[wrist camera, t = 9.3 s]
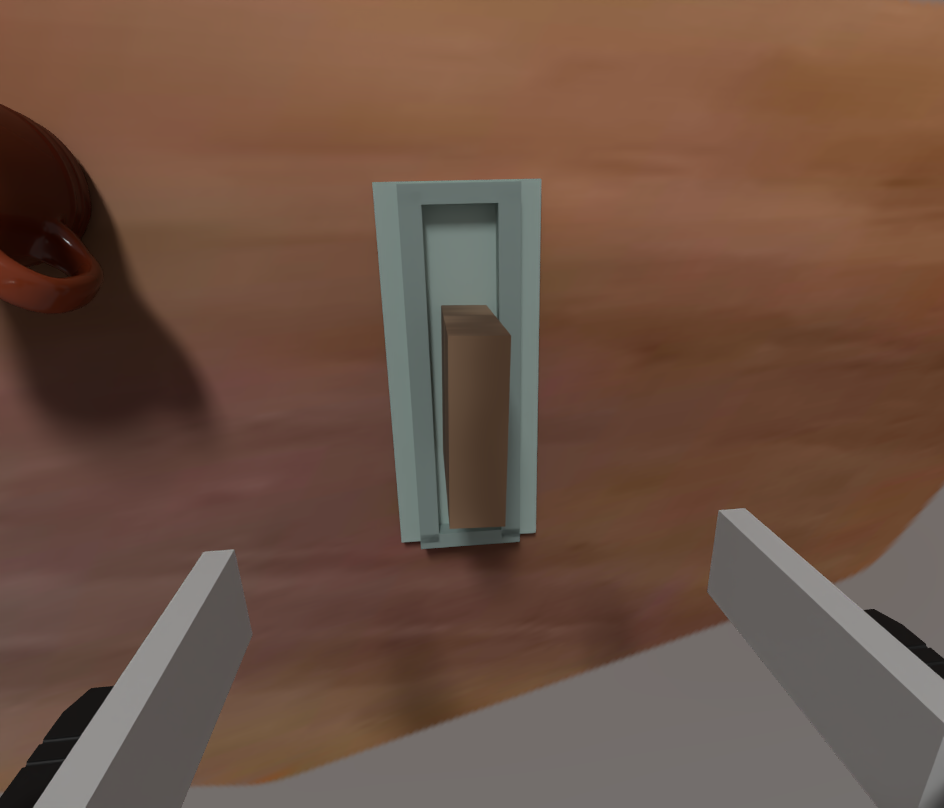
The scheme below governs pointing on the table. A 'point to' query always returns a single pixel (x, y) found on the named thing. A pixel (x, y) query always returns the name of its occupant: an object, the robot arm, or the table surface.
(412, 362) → the track base
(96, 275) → the mug
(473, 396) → the slider block
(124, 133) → the table surface
